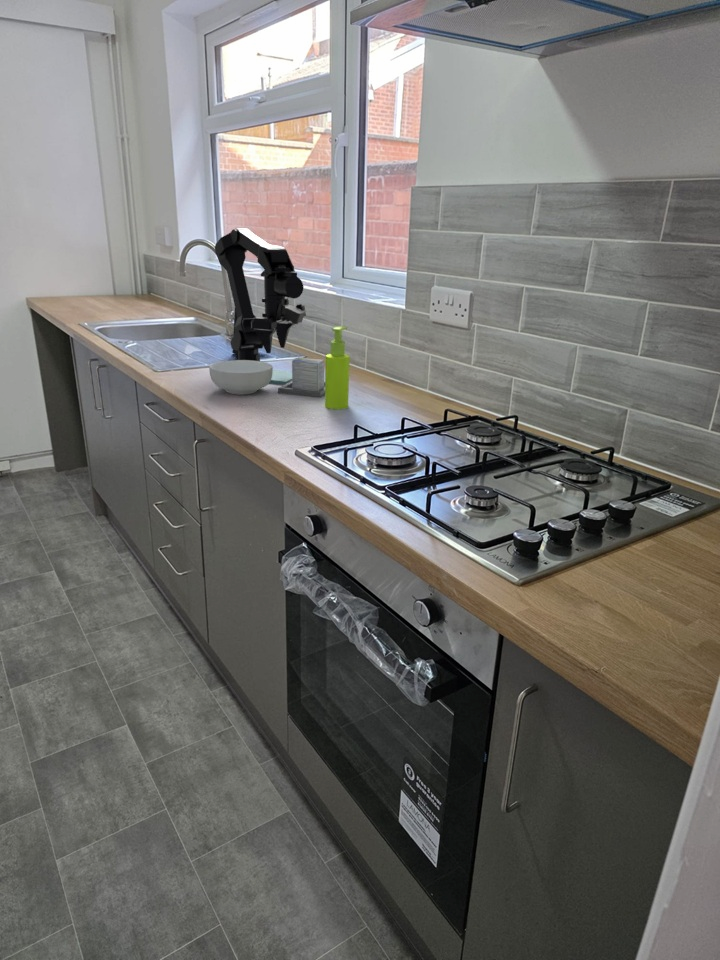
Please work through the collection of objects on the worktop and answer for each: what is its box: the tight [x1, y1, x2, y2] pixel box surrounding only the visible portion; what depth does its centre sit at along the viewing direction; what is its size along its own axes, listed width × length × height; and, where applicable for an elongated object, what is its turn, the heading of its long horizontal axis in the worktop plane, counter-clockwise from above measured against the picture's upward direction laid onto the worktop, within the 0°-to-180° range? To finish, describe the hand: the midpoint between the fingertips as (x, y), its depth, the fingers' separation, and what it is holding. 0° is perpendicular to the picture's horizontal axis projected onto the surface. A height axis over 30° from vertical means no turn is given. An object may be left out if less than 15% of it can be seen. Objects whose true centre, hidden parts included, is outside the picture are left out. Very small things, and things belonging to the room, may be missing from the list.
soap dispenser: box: [324, 325, 351, 410], centre depth 162 cm, size 6×7×20 cm
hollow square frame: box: [277, 381, 325, 398], centre depth 179 cm, size 12×12×2 cm
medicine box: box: [291, 357, 325, 391], centre depth 178 cm, size 8×4×9 cm, turn 72°
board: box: [269, 369, 292, 386], centre depth 191 cm, size 12×12×1 cm
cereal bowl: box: [208, 359, 274, 395], centre depth 176 cm, size 17×17×7 cm
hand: (275, 350), depth 188 cm, fingers open, 9 cm apart
